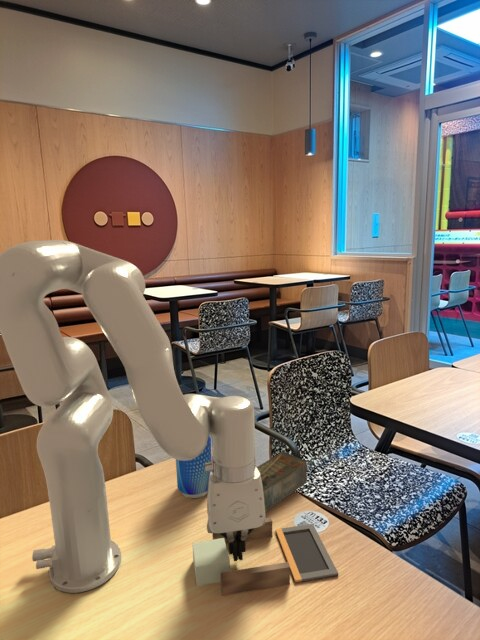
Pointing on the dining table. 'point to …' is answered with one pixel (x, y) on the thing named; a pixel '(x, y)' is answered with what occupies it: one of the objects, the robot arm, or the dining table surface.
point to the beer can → (194, 474)
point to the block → (210, 561)
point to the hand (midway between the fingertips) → (236, 555)
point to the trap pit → (305, 553)
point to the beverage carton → (281, 477)
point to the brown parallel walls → (255, 569)
